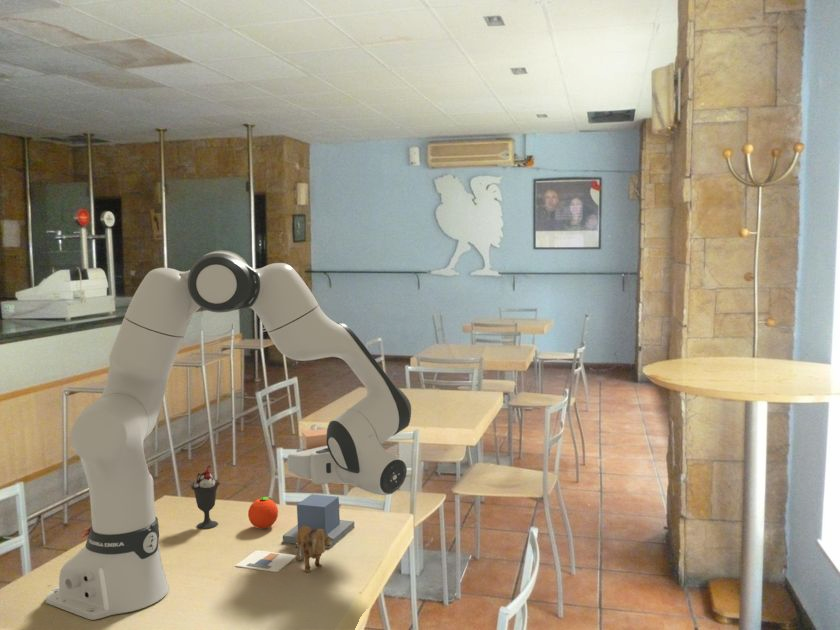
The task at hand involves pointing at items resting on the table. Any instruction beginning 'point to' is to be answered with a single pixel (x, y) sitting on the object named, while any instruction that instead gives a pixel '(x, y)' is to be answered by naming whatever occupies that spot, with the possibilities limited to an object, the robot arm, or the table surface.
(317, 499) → the tower base
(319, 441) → the terracotta brick
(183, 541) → the table surface
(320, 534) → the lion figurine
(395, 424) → the robot arm
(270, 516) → the clementine
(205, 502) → the sundae
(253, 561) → the page
